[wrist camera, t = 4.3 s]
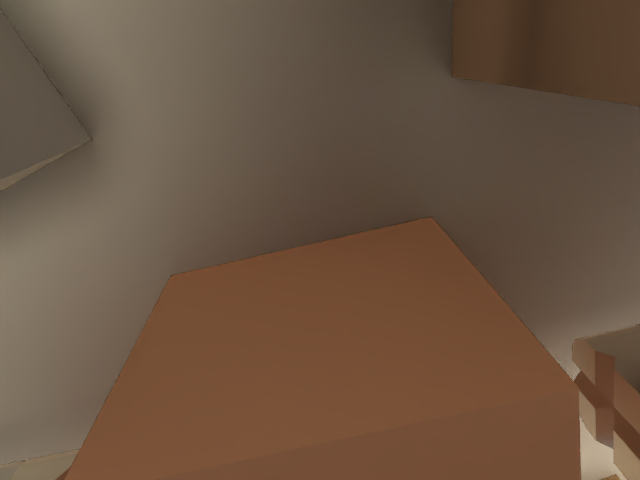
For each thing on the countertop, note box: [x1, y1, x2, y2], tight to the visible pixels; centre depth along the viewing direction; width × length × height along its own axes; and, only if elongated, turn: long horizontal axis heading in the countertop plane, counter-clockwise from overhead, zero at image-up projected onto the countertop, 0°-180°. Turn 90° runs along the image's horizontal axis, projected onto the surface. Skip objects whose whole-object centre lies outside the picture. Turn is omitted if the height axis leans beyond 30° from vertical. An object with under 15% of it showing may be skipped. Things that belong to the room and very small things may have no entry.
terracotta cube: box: [65, 217, 581, 480], centre depth 8 cm, size 5×5×5 cm
